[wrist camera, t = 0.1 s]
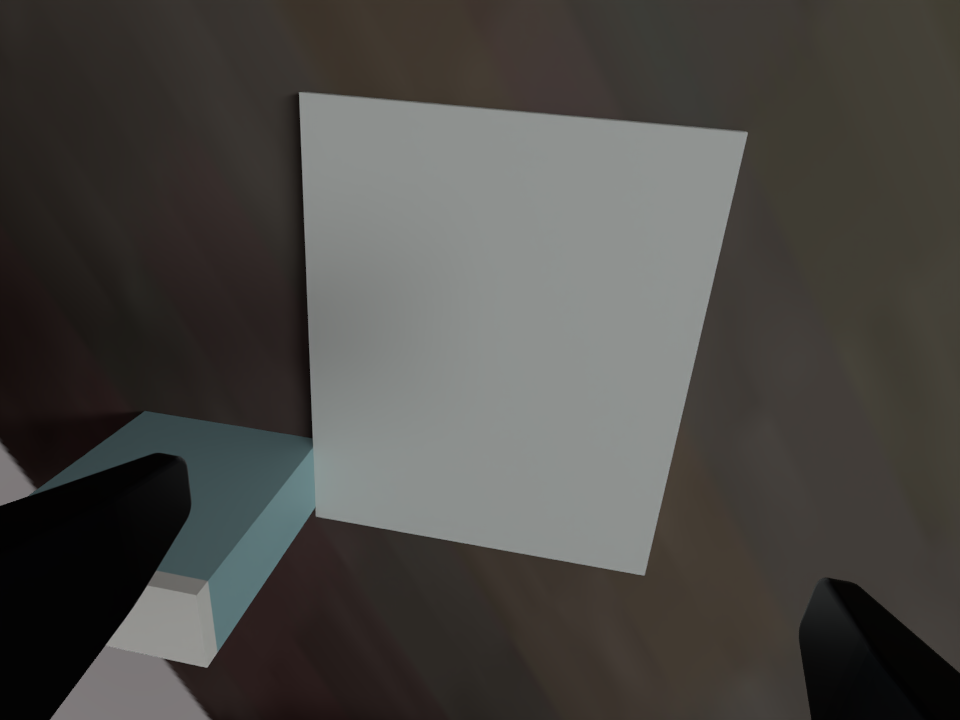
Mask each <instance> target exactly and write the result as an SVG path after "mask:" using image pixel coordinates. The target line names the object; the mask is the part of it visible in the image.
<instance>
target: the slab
mask: <svg viewBox="0 0 960 720" xmlns="http://www.w3.org/2000/svg"><path fill="white" fill-rule="evenodd" d="M153 453H165V454H170V455H176V456H180V457H182V458H183V459H184V460H185V461H186V463H187V466H188V474H189V483H190V491H191V500H192V505H191V511H190V514H189V516H188V519H187V521H186V522H185V524H184V525H183V527H182V529H181V530H180V532H179V534H178V535H177V537H176V539H175V540H174V542H173V544H172V545H171V547H170V549H169V550H168V552H167V554H166V555H165V557H164V559H163V560H162V562H161V564H160V565H159V567H158V569H157V570H156V572H155V573H154V575H153V577H152V578H151V580H150V582H149V583H148V585H147V587H146V588H145V590H144V592H143V593H142V595H141V596H140V598H139V599H138V601H137V603H136V604H135V606H134V607H133V608H132V610H131V611H130V613H129V614H128V615H127V617H126V618H125V620H124V621H123V622H122V624H121V625H120V626H119V628H118V629H117V631H116V632H115V633H114V635H113V636H112V637H111V639H110V640H109V641H108V643H107V644H106V645H105V646H109V647H114V648H119V649H123V650H128V651H132V652H137V653H142V654H146V655H151V656H155V657H160V658H165V659H169V660H174V661H178V662H183V663H187V664H192V665H197V666H201V667H206V668H207V667H208V666H209V664H210V663H211V661H212V660H213V658H214V657H215V655H216V654H217V652H218V651H219V649H220V648H221V646H222V645H223V643H224V642H225V640H226V639H227V638H228V636H229V635H230V633H231V632H232V630H233V629H234V627H235V626H236V624H237V623H238V621H239V620H240V618H241V617H242V615H243V614H244V612H245V611H246V609H247V608H248V606H249V605H250V603H251V602H252V600H253V599H254V597H255V596H256V594H257V593H258V591H259V590H260V589H261V587H262V586H263V584H264V583H265V581H266V580H267V578H268V577H269V575H270V574H271V572H272V571H273V569H274V568H275V566H276V565H277V563H278V562H279V560H280V559H281V557H282V556H283V554H284V553H285V551H286V550H287V548H288V547H289V545H290V544H291V543H292V541H293V540H294V538H295V537H296V535H297V534H298V532H299V531H300V529H301V528H302V526H303V525H304V523H305V522H306V520H307V519H308V517H309V516H310V514H311V513H312V511H313V510H314V508H315V507H316V506H315V481H314V456H313V438H307V437H301V436H295V435H289V434H282V433H276V432H270V431H264V430H258V429H252V428H246V427H240V426H233V425H227V424H221V423H215V422H209V421H203V420H197V419H191V418H184V417H178V416H172V415H166V414H160V413H154V412H148V411H144V412H143V413H142V414H140V415H139V416H137V417H136V418H135V419H133V420H132V421H131V422H129V423H128V424H126V425H125V426H124V427H122V428H121V429H120V430H118V431H117V432H115V433H114V434H113V435H111V436H110V437H109V438H107V439H106V440H104V441H103V442H102V443H100V444H99V445H98V446H96V447H95V448H93V449H92V450H91V451H89V452H88V453H87V454H85V455H84V456H82V457H81V458H80V459H78V460H77V461H76V462H74V463H73V464H71V465H70V466H69V467H67V468H66V469H65V470H63V471H62V472H61V473H59V474H58V475H56V476H55V477H54V478H52V479H51V480H50V481H48V482H47V483H45V484H44V485H43V486H41V487H40V488H39V489H37V490H36V491H34V492H33V493H32V494H30V495H29V496H31V495H34V494H37V493H40V492H42V491H45V490H48V489H51V488H54V487H57V486H60V485H63V484H66V483H69V482H71V481H74V480H77V479H80V478H83V477H86V476H89V475H92V474H95V473H98V472H101V471H103V470H106V469H109V468H112V467H115V466H118V465H121V464H124V463H127V462H130V461H133V460H135V459H138V458H141V457H144V456H147V455H150V454H153Z"/></svg>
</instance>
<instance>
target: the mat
mask: <svg viewBox="0 0 960 720" xmlns="http://www.w3.org/2000/svg"><path fill="white" fill-rule="evenodd" d="M299 103H300V128H301V154H302V179H303V204H304V229H305V254H306V279H307V305H308V330H309V355H310V380H311V405H312V431H313V456H314V481H315V506H316V517H322V518H327V519H333V520H338V521H344V522H350V523H355V524H361V525H366V526H372V527H377V528H383V529H388V530H394V531H400V532H405V533H411V534H416V535H422V536H427V537H433V538H438V539H444V540H449V541H455V542H461V543H466V544H472V545H477V546H483V547H488V548H494V549H499V550H505V551H511V552H516V553H522V554H527V555H533V556H538V557H544V558H549V559H555V560H561V561H566V562H572V563H577V564H583V565H588V566H594V567H599V568H605V569H610V570H616V571H622V572H627V573H633V574H638V575H645V571H646V567H647V562H648V558H649V554H650V549H651V545H652V541H653V537H654V532H655V528H656V524H657V519H658V515H659V511H660V507H661V502H662V498H663V494H664V489H665V485H666V481H667V477H668V472H669V468H670V464H671V459H672V455H673V451H674V447H675V442H676V438H677V434H678V430H679V425H680V421H681V417H682V412H683V408H684V404H685V400H686V395H687V391H688V387H689V382H690V378H691V374H692V370H693V365H694V361H695V357H696V352H697V348H698V344H699V340H700V335H701V331H702V327H703V322H704V318H705V314H706V310H707V305H708V301H709V297H710V292H711V288H712V284H713V280H714V275H715V271H716V267H717V262H718V258H719V254H720V250H721V245H722V241H723V237H724V232H725V228H726V224H727V220H728V215H729V211H730V207H731V202H732V198H733V194H734V190H735V185H736V181H737V177H738V172H739V168H740V164H741V160H742V155H743V151H744V147H745V143H746V138H747V134H748V132H745V131H738V130H727V129H716V128H704V127H693V126H682V125H671V124H660V123H649V122H638V121H626V120H615V119H604V118H593V117H582V116H571V115H560V114H548V113H537V112H526V111H515V110H504V109H493V108H482V107H470V106H459V105H448V104H437V103H426V102H415V101H404V100H392V99H381V98H370V97H359V96H348V95H337V94H325V93H314V92H299Z"/></svg>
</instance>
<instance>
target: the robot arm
mask: <svg viewBox="0 0 960 720" xmlns="http://www.w3.org/2000/svg"><path fill="white" fill-rule="evenodd" d="M191 505H192V500H191V491H190V483H189V474H188V466H187V463H186V461H185V460H184V459H183V458H182V457H180V456H176V455H170V454H165V453H153V454H150V455H147V456H144V457H141V458H138V459H135V460H133V461H130V462H127V463H124V464H121V465H118V466H115V467H112V468H109V469H106V470H103V471H101V472H98V473H95V474H92V475H89V476H86V477H83V478H80V479H77V480H74V481H71V482H69V483H66V484H63V485H60V486H57V487H54V488H51V489H48V490H45V491H42V492H40V493H37V494H34V495H31V496H28V497H25V498H22V499H19V500H16V501H13V502H11V503H8V504H5V505H2V506H0V720H50V719H51V717H52V716H53V715H54V713H55V712H56V711H57V709H58V708H59V707H60V705H61V704H62V703H63V701H64V700H65V699H66V697H67V696H68V695H69V693H70V692H71V691H72V689H73V688H74V687H75V685H76V684H77V683H78V681H79V680H80V679H81V677H82V676H83V675H84V673H85V672H86V670H87V669H88V668H89V667H90V665H91V664H92V663H93V661H94V659H96V657H97V656H98V655H99V653H100V652H101V651H102V649H103V648H104V647H105V645H106V644H107V643H108V641H109V640H110V639H111V637H112V636H113V635H114V633H115V632H116V631H117V629H118V628H119V626H120V625H121V624H122V622H123V621H124V620H125V618H126V617H127V615H128V614H129V613H130V611H131V610H132V608H133V607H134V606H135V604H136V603H137V601H138V599H139V598H140V596H141V595H142V593H143V592H144V590H145V588H146V587H147V585H148V583H149V582H150V580H151V578H152V577H153V575H154V573H155V572H156V570H157V569H158V567H159V565H160V564H161V562H162V560H163V559H164V557H165V555H166V554H167V552H168V550H169V549H170V547H171V545H172V544H173V542H174V540H175V539H176V537H177V535H178V534H179V532H180V530H181V529H182V527H183V525H184V524H185V522H186V521H187V519H188V516H189V514H190V511H191ZM799 643H800V649H801V656H802V662H803V669H804V675H805V682H806V688H807V694H808V701H809V707H810V714H811V720H960V673H959V672H958V671H957V670H956V669H954V668H953V667H952V666H951V665H950V664H949V663H948V662H946V661H945V660H944V659H943V658H942V657H941V656H939V655H938V654H937V653H936V652H935V651H934V650H932V649H931V648H930V647H929V646H928V645H927V644H926V643H924V642H923V641H922V640H921V639H920V638H919V637H917V636H916V635H915V634H914V633H913V632H912V631H911V630H909V629H908V628H907V627H906V626H905V625H904V624H902V623H901V622H900V621H899V620H898V619H897V618H895V617H894V616H893V615H892V614H891V613H890V612H889V611H887V610H886V609H885V608H884V607H883V606H882V605H880V604H879V603H878V602H877V601H876V600H875V599H873V598H872V597H871V596H870V595H869V594H868V593H867V592H865V591H864V590H863V589H862V588H861V587H859V586H858V585H857V584H855V583H852V582H848V581H843V580H837V579H832V578H822V579H820V580H819V581H818V582H817V584H816V586H815V588H814V590H813V593H812V595H811V598H810V600H809V603H808V605H807V608H806V610H805V613H804V615H803V618H802V620H801V623H800V628H799Z"/></svg>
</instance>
